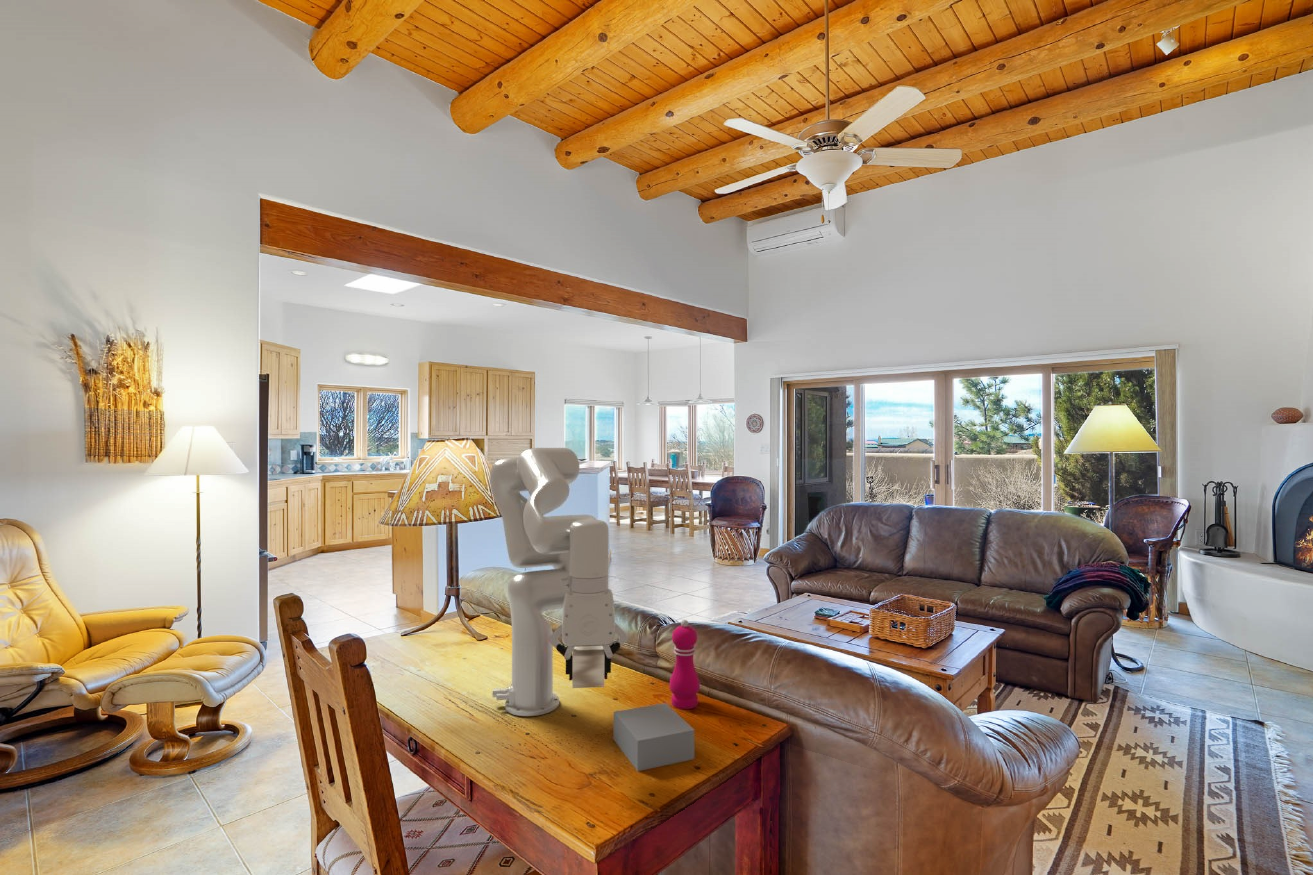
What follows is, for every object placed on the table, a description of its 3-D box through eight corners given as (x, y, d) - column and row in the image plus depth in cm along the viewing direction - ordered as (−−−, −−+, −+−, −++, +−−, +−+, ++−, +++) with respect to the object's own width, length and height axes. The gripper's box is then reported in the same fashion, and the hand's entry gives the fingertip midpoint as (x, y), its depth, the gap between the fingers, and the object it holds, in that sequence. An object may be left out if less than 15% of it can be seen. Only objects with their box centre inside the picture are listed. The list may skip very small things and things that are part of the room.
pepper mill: (690, 712, 145) (690, 625, 145) (663, 705, 149) (663, 621, 149) (705, 701, 151) (705, 618, 151) (679, 695, 155) (679, 614, 155)
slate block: (637, 772, 119) (637, 740, 119) (613, 740, 132) (613, 711, 132) (694, 760, 124) (694, 729, 124) (665, 730, 137) (665, 702, 137)
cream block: (572, 688, 118) (572, 656, 118) (572, 676, 124) (573, 645, 124) (604, 686, 119) (604, 655, 119) (603, 675, 125) (603, 644, 125)
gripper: (542, 589, 117) (541, 686, 117) (634, 587, 119) (634, 682, 119) (544, 580, 125) (544, 671, 124) (631, 578, 127) (631, 668, 126)
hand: (588, 676), depth 122 cm, fingers closed on cream block, 6 cm apart
